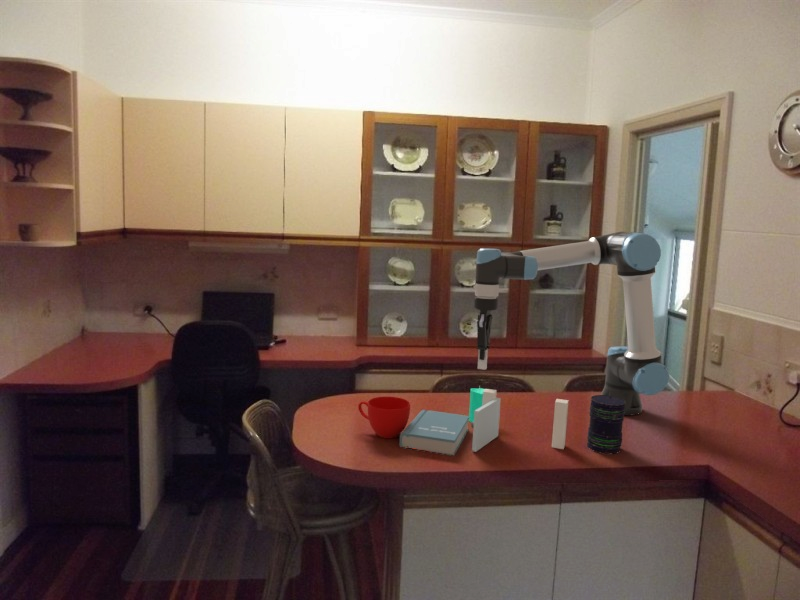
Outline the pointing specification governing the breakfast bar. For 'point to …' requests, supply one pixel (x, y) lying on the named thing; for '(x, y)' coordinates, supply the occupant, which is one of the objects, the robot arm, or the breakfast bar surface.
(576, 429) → the breakfast bar surface
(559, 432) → the door frame
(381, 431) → the ceramic cup
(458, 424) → the book
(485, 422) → the door
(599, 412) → the storage jar
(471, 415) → the candle
